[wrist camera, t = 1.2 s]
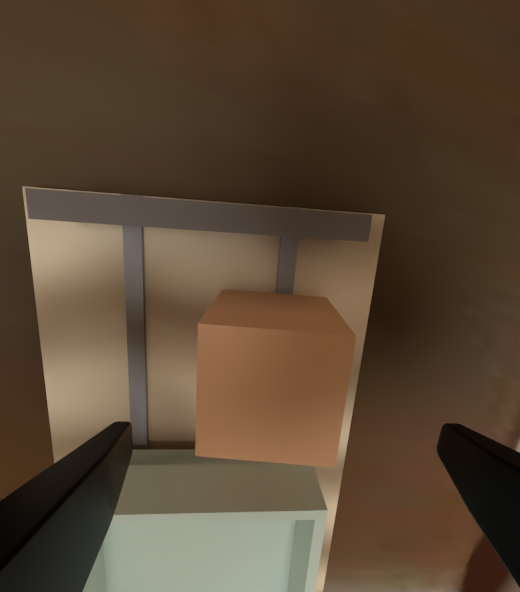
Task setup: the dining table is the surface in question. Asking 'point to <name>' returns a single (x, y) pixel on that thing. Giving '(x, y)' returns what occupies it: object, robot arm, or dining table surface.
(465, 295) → the dining table surface
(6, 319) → the dining table surface
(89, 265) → the track
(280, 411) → the block
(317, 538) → the tray with handle
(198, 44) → the dining table surface
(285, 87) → the dining table surface
